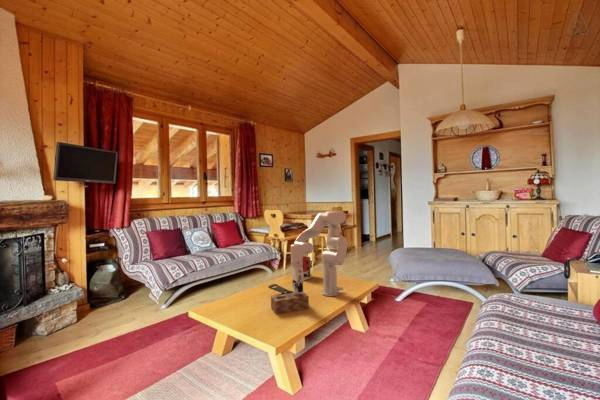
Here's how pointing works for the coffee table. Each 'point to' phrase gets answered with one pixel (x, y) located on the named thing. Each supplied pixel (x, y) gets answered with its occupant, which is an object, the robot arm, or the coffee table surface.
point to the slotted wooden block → (289, 302)
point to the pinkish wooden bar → (296, 289)
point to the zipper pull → (280, 289)
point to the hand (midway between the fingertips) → (297, 289)
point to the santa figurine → (306, 267)
